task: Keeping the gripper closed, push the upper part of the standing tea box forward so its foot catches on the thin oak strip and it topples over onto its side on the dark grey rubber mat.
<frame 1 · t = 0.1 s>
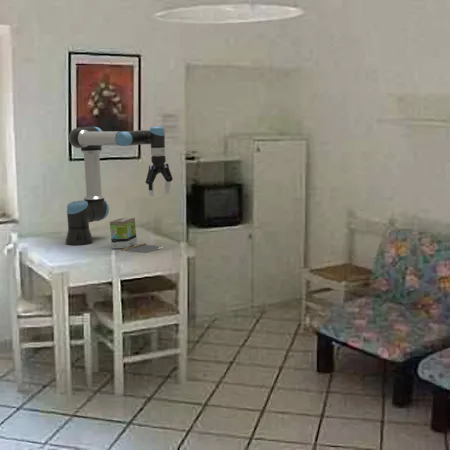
hand: (159, 195, 412), 28 cm above the table, tool pointing down, fingers open, 13 cm apart
oak strip: (134, 247, 413), on the table
mat: (145, 249, 409), on the table
tea box: (124, 246, 417), on the table, touching oak strip
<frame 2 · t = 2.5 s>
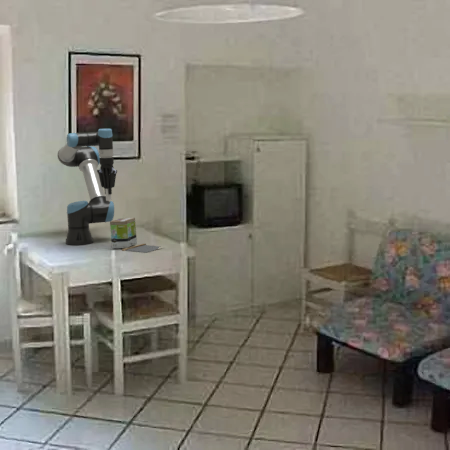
hand: (108, 200, 418), 25 cm above the table, tool pointing down, fingers closed
nothing on the table moved.
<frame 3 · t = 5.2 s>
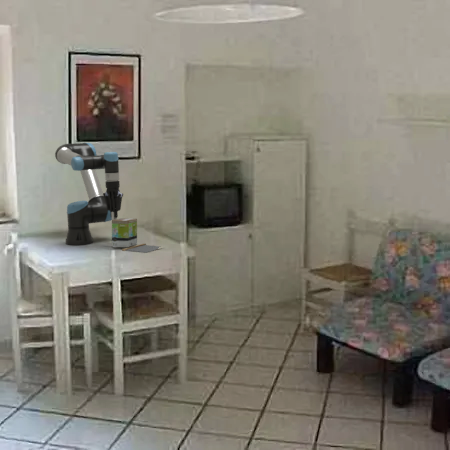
hand: (114, 223, 418), 13 cm above the table, tool pointing down, fingers closed
tea box: (124, 246, 417), on the table, touching gripper, oak strip
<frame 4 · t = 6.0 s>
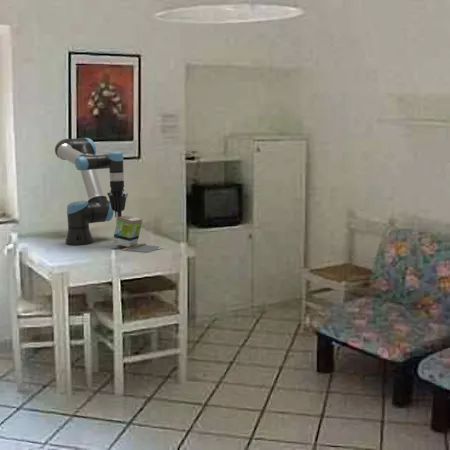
hand: (118, 223, 417), 13 cm above the table, tool pointing down, fingers closed
tea box: (124, 244, 416), point 1 cm above the table, touching gripper, oak strip
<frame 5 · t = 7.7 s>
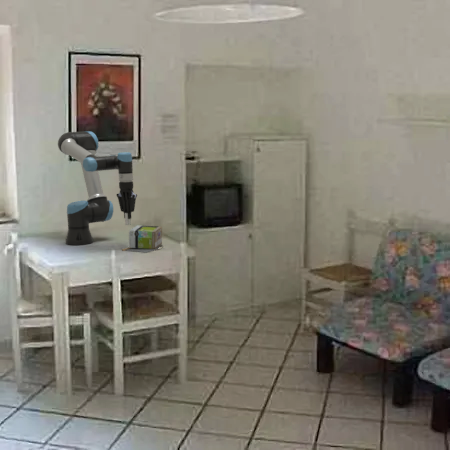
hand: (128, 224, 413), 13 cm above the table, tool pointing down, fingers closed
tea box: (132, 236, 415), point 6 cm above the table, touching mat, oak strip
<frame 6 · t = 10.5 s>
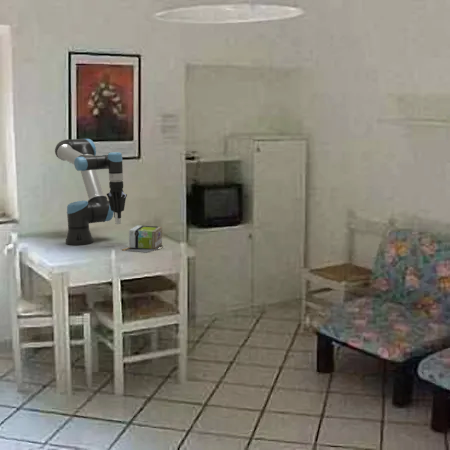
hand: (118, 223, 417), 12 cm above the table, tool pointing down, fingers closed
nothing on the table moved.
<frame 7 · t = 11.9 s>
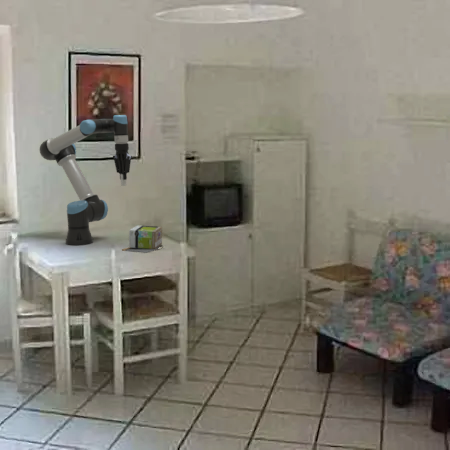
hand: (123, 185, 426), 32 cm above the table, tool pointing down, fingers closed
nothing on the table moved.
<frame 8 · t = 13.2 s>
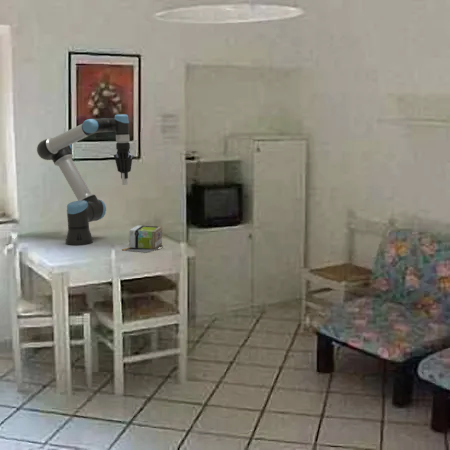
hand: (124, 184, 429), 32 cm above the table, tool pointing down, fingers closed
nothing on the table moved.
at the end: tea box tilted 92°; tea box inside the target area (6.1 cm from its centre), point 5.9 cm above the table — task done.
